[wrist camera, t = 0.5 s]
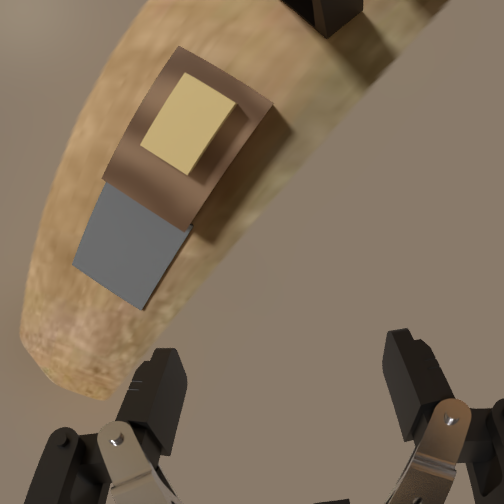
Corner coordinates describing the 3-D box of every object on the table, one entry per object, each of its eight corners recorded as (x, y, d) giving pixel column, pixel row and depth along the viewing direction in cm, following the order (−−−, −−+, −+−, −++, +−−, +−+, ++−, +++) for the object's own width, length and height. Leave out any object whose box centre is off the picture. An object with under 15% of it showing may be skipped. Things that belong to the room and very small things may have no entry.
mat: (111, 172, 35) (110, 173, 34) (193, 225, 37) (193, 226, 37) (73, 263, 40) (72, 264, 40) (142, 309, 43) (141, 310, 42)
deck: (187, 52, 29) (178, 45, 25) (272, 104, 31) (273, 103, 27) (116, 171, 35) (101, 178, 31) (192, 220, 37) (184, 232, 33)
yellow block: (189, 74, 26) (184, 72, 25) (237, 103, 28) (235, 102, 26) (147, 142, 29) (139, 145, 28) (191, 171, 31) (187, 175, 29)
